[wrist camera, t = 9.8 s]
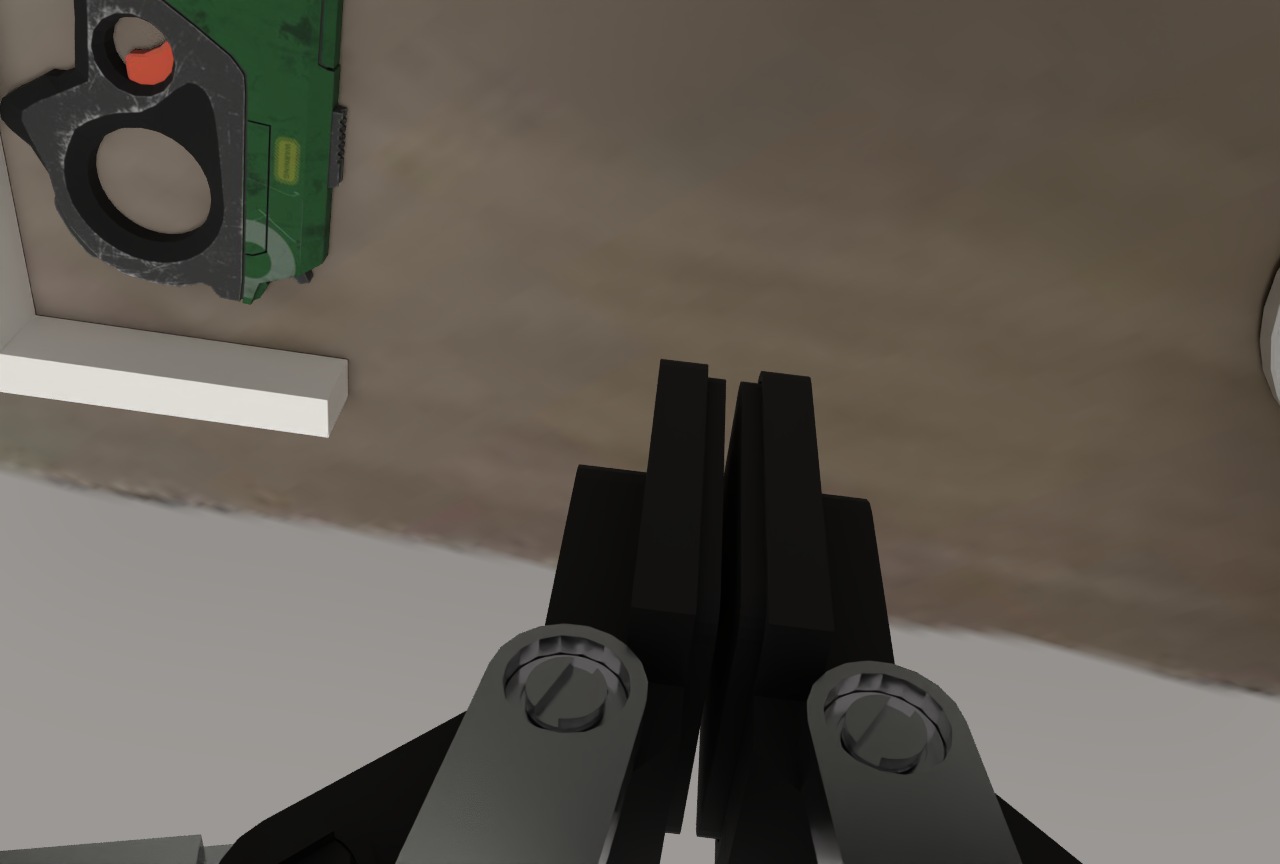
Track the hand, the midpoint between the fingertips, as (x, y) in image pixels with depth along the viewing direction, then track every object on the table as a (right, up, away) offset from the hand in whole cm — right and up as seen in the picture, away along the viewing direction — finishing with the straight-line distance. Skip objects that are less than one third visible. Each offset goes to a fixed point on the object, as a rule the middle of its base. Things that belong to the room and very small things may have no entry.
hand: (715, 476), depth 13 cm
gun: (-14, +13, +20) cm, 27 cm away
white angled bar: (-16, +11, +20) cm, 28 cm away
